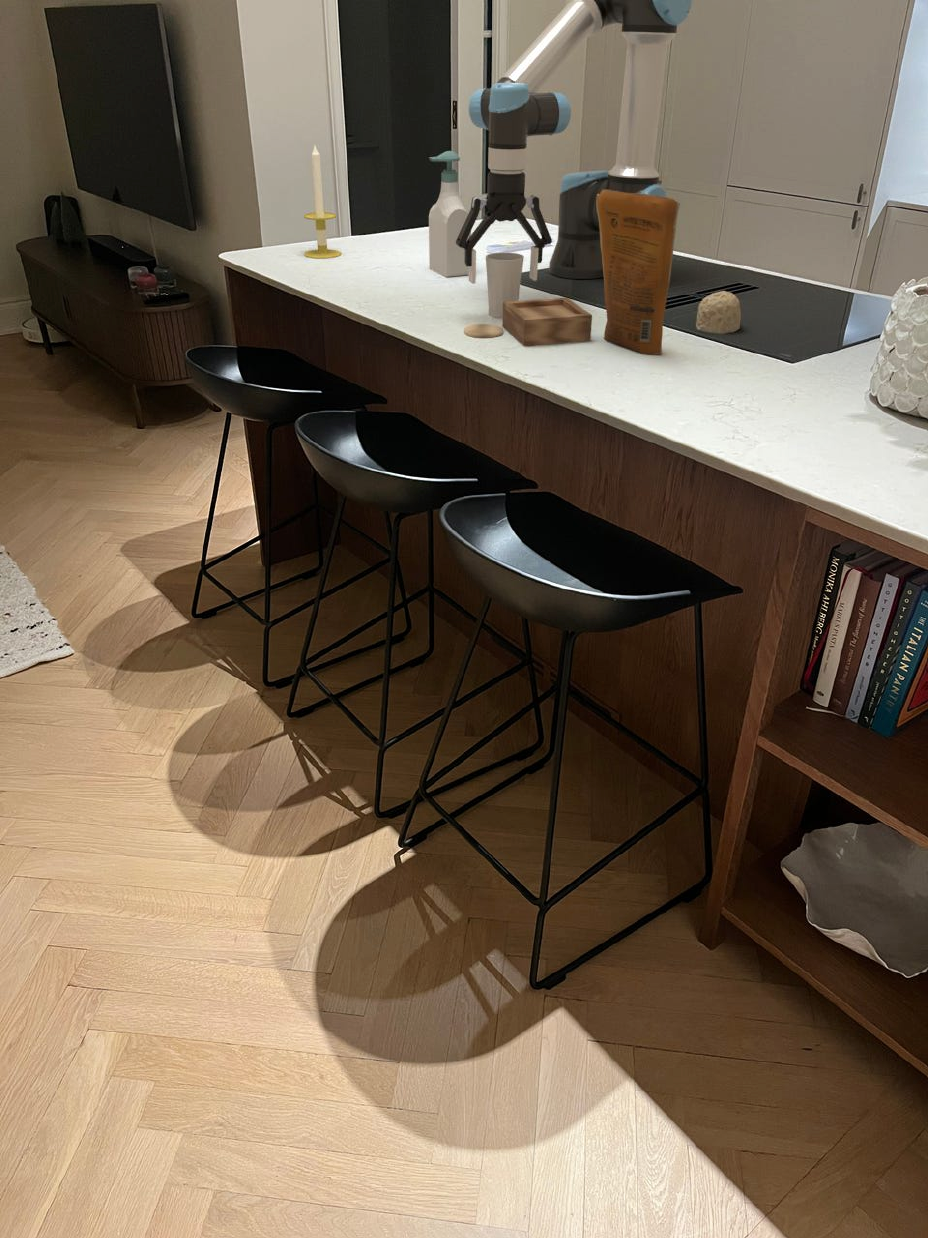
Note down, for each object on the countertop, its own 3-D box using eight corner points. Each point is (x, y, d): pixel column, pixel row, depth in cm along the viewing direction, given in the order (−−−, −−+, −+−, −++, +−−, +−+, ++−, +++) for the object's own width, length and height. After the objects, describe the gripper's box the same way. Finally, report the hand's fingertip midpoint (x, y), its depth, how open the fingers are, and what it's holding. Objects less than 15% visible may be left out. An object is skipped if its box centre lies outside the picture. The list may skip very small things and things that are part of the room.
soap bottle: (423, 268, 244) (420, 149, 229) (452, 265, 247) (452, 147, 232) (440, 278, 235) (439, 154, 220) (470, 275, 238) (471, 152, 223)
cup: (518, 320, 204) (520, 261, 198) (481, 318, 205) (482, 259, 199) (524, 310, 211) (526, 252, 204) (488, 308, 212) (489, 251, 206)
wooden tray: (565, 321, 203) (567, 297, 200) (590, 340, 192) (592, 314, 189) (502, 326, 200) (503, 301, 197) (523, 345, 189) (524, 319, 186)
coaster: (496, 325, 201) (496, 322, 200) (508, 336, 194) (508, 333, 194) (459, 328, 199) (459, 325, 198) (469, 339, 192) (469, 336, 192)
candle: (349, 253, 259) (342, 142, 244) (325, 260, 252) (317, 146, 237) (320, 248, 263) (312, 139, 249) (296, 255, 256) (286, 143, 242)
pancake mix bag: (649, 360, 181) (666, 200, 166) (583, 336, 194) (594, 186, 179) (675, 354, 184) (694, 197, 169) (608, 331, 197) (621, 182, 182)
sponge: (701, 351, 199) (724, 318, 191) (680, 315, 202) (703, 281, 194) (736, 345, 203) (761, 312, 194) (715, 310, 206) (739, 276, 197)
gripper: (558, 167, 199) (552, 273, 210) (441, 169, 193) (441, 279, 204) (571, 172, 193) (564, 281, 204) (451, 174, 187) (450, 287, 198)
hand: (502, 280), depth 204 cm, fingers open, 13 cm apart
